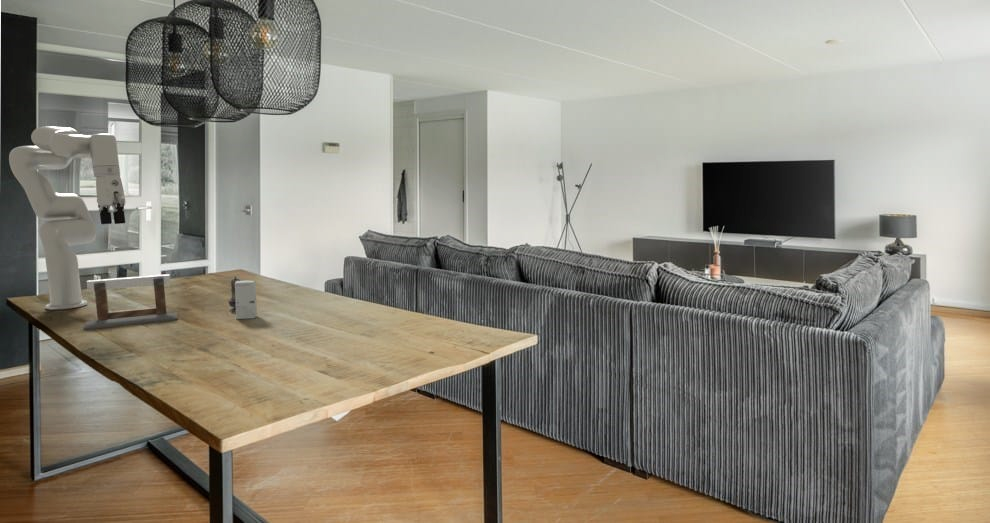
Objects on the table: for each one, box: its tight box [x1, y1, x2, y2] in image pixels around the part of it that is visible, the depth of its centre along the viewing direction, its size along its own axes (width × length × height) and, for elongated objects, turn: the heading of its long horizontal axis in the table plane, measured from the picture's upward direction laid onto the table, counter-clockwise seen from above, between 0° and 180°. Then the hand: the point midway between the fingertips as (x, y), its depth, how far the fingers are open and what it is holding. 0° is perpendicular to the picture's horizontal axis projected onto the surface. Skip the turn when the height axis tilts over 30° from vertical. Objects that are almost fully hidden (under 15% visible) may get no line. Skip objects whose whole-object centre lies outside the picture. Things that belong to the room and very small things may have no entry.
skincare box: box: [235, 280, 258, 320], centre depth 206 cm, size 6×4×12 cm
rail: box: [86, 273, 171, 292], centre depth 210 cm, size 24×3×3 cm, turn 119°
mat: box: [82, 312, 179, 331], centre depth 202 cm, size 26×10×1 cm, turn 119°
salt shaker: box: [227, 275, 241, 313], centre depth 217 cm, size 6×6×12 cm
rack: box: [93, 278, 167, 321], centre depth 210 cm, size 20×6×12 cm, turn 119°
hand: (113, 223), depth 208 cm, fingers open, 9 cm apart
